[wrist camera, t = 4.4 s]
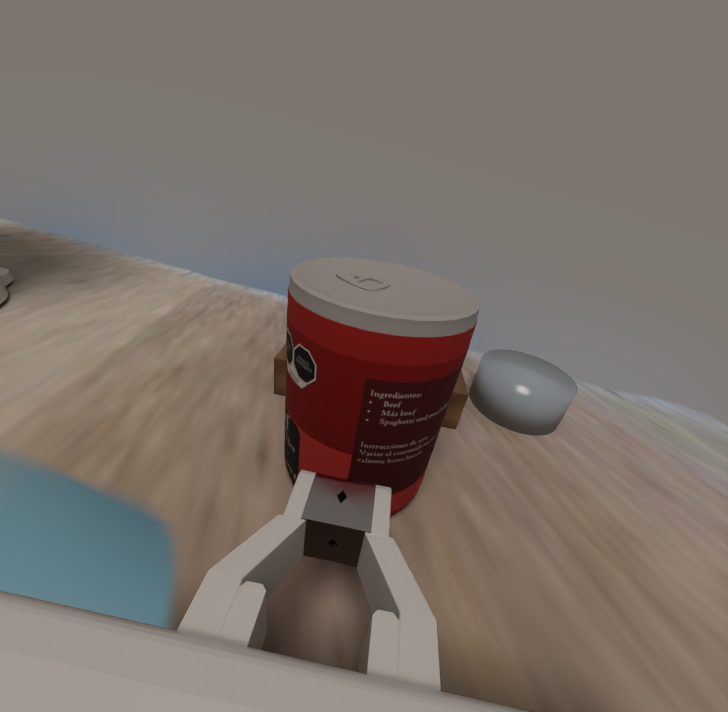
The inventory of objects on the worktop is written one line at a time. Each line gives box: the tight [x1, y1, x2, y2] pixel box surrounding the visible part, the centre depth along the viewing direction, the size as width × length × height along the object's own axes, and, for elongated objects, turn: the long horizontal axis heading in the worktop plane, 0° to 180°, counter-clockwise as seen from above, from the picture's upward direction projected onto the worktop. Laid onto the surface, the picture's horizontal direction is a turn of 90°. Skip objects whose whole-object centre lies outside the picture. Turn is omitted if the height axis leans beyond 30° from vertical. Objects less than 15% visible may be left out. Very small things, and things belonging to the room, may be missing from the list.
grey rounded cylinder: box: [469, 350, 578, 436], centre depth 25 cm, size 7×7×4 cm
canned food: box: [285, 258, 480, 516], centre depth 16 cm, size 8×8×11 cm
